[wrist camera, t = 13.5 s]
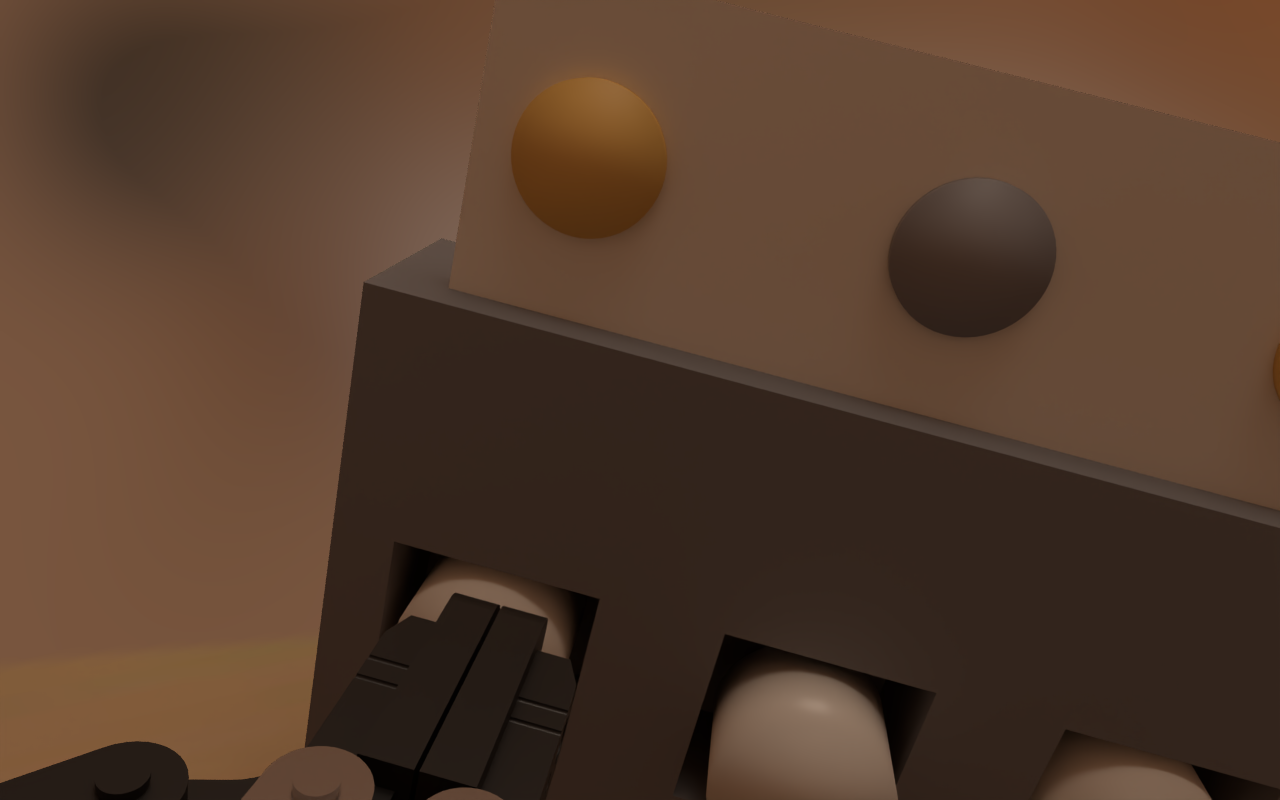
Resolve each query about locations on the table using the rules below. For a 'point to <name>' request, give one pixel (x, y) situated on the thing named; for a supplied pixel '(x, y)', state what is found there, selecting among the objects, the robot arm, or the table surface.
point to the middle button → (798, 732)
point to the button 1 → (502, 599)
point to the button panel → (790, 555)
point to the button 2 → (1114, 773)
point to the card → (886, 229)
